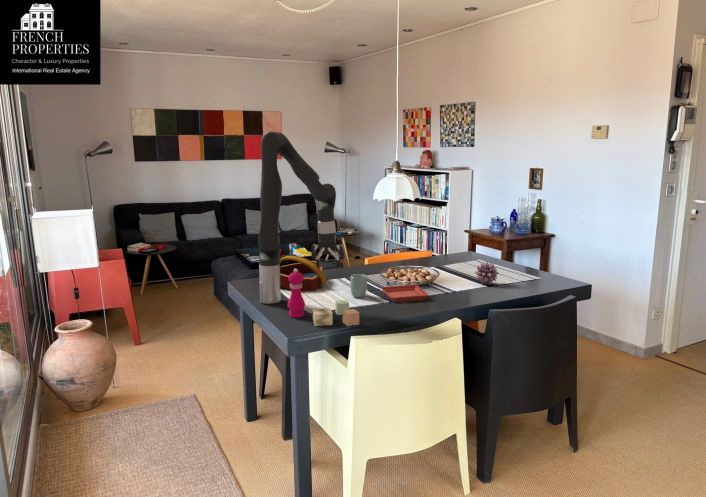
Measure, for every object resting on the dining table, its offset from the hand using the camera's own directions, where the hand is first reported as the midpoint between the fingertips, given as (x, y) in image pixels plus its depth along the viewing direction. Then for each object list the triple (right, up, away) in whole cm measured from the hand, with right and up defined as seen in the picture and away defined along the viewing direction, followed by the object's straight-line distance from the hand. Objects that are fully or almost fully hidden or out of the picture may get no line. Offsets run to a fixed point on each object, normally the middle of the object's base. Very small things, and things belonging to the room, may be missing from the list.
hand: (328, 268), depth 230 cm
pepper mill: (-13, -20, -7) cm, 25 cm away
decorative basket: (-18, -10, +45) cm, 49 cm away
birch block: (-2, -21, -16) cm, 27 cm away
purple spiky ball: (+79, -10, +44) cm, 91 cm away
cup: (+13, -14, +21) cm, 28 cm away
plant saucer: (+35, -15, +21) cm, 43 cm away
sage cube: (+6, -19, -4) cm, 20 cm away
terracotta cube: (+10, -21, -17) cm, 29 cm away
